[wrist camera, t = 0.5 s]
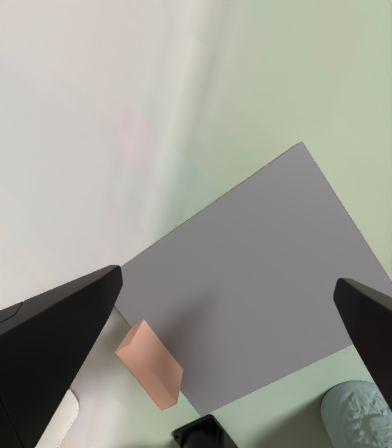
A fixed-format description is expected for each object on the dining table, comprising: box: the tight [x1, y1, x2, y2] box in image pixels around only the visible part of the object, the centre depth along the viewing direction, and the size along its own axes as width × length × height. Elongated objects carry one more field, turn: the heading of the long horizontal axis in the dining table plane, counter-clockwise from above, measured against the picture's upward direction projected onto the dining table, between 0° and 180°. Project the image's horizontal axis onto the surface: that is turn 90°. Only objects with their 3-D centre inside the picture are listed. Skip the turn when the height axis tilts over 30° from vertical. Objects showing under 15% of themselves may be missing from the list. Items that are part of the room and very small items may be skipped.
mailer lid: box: [114, 142, 392, 416], centre depth 17 cm, size 20×16×5 cm
